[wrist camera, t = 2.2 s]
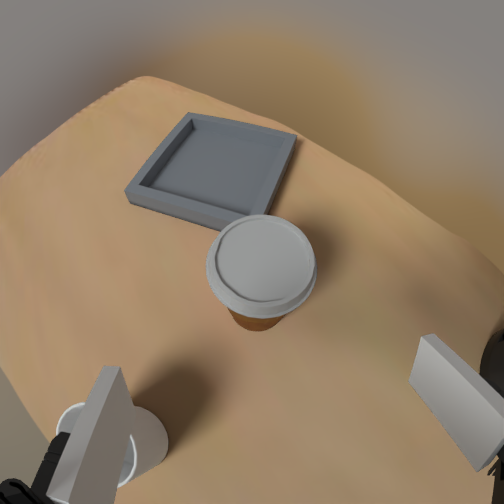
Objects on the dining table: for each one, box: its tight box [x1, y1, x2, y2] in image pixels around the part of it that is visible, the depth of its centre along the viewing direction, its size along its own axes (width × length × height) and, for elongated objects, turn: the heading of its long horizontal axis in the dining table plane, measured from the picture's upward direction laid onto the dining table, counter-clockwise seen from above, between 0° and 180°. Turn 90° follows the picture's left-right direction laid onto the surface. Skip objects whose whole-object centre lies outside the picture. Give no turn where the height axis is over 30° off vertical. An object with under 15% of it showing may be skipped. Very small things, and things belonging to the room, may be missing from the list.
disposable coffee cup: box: [206, 215, 317, 331], centre depth 30 cm, size 10×10×12 cm
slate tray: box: [124, 112, 297, 232], centre depth 44 cm, size 20×20×3 cm
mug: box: [56, 402, 168, 488], centre depth 21 cm, size 12×8×10 cm, turn 139°
